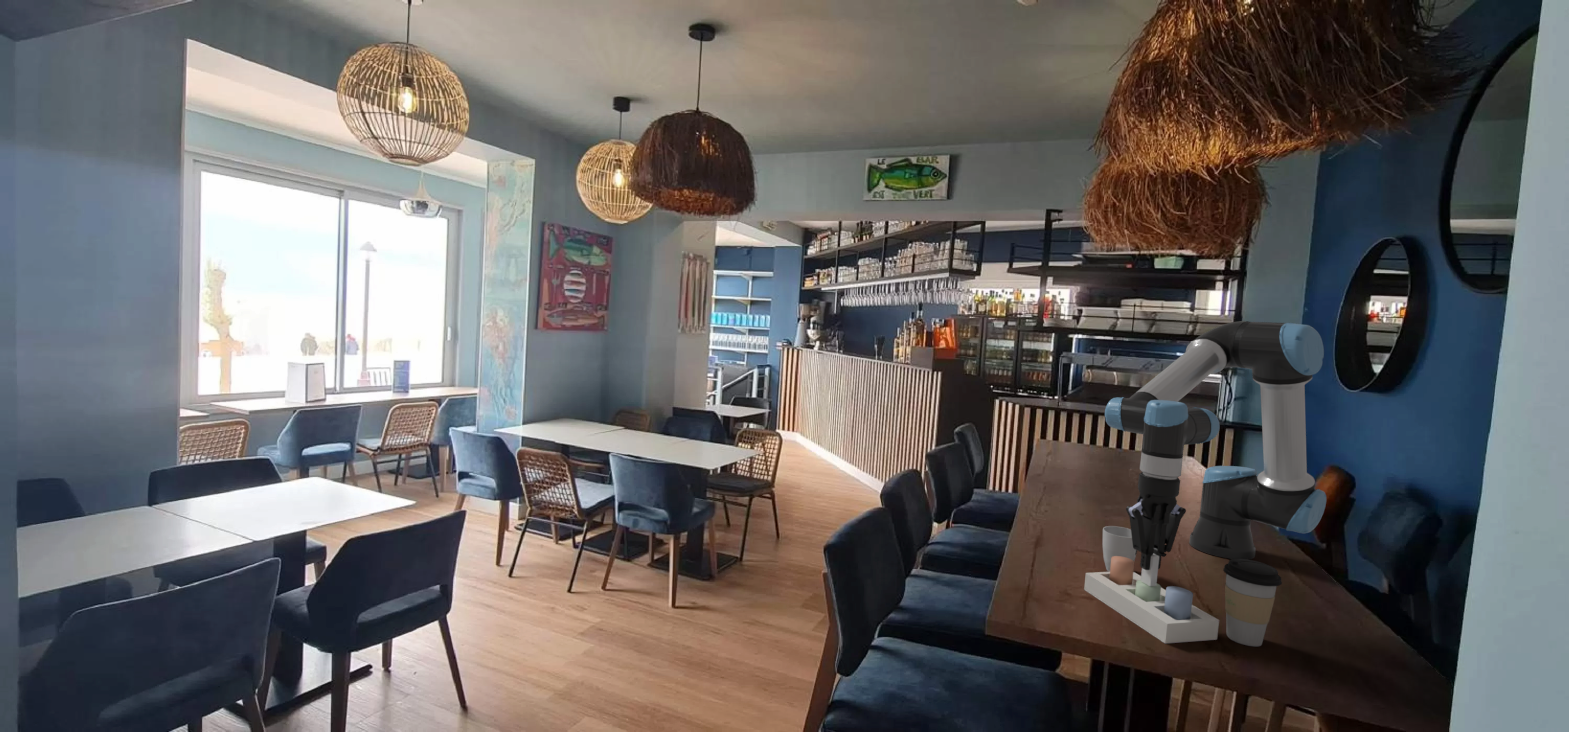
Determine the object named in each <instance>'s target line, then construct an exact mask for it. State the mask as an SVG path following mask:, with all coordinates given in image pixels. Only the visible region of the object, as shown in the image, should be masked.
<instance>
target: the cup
mask: <svg viewBox="0 0 1569 732" xmlns="http://www.w3.org/2000/svg"><path fill="white" fill-rule="evenodd" d="M1102 554H1103V555H1102V556H1103V562H1104V565H1105V569H1106V572H1110V567H1111V557H1113V556H1121V557H1126V558H1129V559H1131V560H1133V561H1134V562H1135V560H1136V556H1137V554H1138V551H1137V550H1135V549H1134V548H1133V543H1132V534H1131V528H1128V527H1124V526H1116V525H1108V526H1107V525H1106V526H1104V527H1103V528H1102Z"/></svg>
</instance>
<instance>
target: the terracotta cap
mask: <svg viewBox="0 0 1569 732" xmlns="http://www.w3.org/2000/svg"><path fill="white" fill-rule="evenodd" d="M1134 567H1135V560H1134V561H1133V560H1131V559H1129V558H1126V557H1121V556H1113V557H1111V567H1110V577H1109V580H1111V581H1112V582H1114V583H1116V584H1118V585H1132V581H1133V572H1135V571H1134V569H1135V568H1134Z"/></svg>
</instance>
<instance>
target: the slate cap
mask: <svg viewBox="0 0 1569 732" xmlns="http://www.w3.org/2000/svg"><path fill="white" fill-rule="evenodd" d="M1165 588H1166V589H1165V590H1166V596H1165V605H1164V613H1165V614H1167V615H1168V616H1170V617H1172V618H1173V619H1176V620H1189V619H1190V617H1191V608H1192V605H1193V597H1194V594H1193V592H1192V591H1190V590H1189V589H1186V588H1183V587H1180V586H1175V585H1174V586H1173V585H1170V586H1167V587H1165Z"/></svg>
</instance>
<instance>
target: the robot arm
mask: <svg viewBox="0 0 1569 732" xmlns="http://www.w3.org/2000/svg"><path fill="white" fill-rule="evenodd" d="M1324 348H1325V347H1324V344H1323V340H1322V337H1321V335H1320V333H1319V331H1317V330H1316V329H1315V328H1314V327H1312V326H1311V325H1309V324H1300V323H1294V322H1273V321H1272V322H1268V321H1267V322H1265V321H1264V322H1263V321H1245V320H1244V321H1243V320H1241V321H1240V320H1239V321H1234V322H1228V323H1225V324H1222V325H1219V326H1216V327H1214V328H1212V329H1209V330H1207V331H1206V332H1203V333H1202V334H1201V335H1199V336H1198V337H1196V338H1195V339H1193V340H1192V341H1191V342H1189V344H1187V345H1186V349H1185V352H1184V353H1183V354H1182V355H1180V356H1179V357H1178V358H1176V359H1175V360H1174V361H1173V362H1172V363H1170V364H1169V365H1168V366H1167V367H1166V368H1164V369H1163V370H1161V371H1160V372H1159V373H1158V374H1157V375H1156V376H1154V377H1153V378H1152V379H1150V380H1149V381H1148V382H1147V383H1146V384H1144V385H1143V386H1142V387H1140V389H1138V390H1137V391H1136V392H1134V394H1132V395H1131V396H1130V397H1127V398H1126V397H1123V396H1122V397H1113V398H1111V399H1110V400H1109V401H1108V403H1107V404H1106V406H1105V409H1104V417H1105V422H1106V424H1107V425H1108V426H1109V427H1110V428H1112V429H1116V430H1120V431H1122V432H1124V433H1125V432H1128V433H1134V434H1138V435H1142V446H1141V454H1140V455H1141V456H1140V463H1139V470H1140V473H1139V474H1138V481H1137V489H1138V492H1139V496H1138V498H1137V499H1136V503H1135V504H1134V505H1133V506H1130V505H1128V506H1126V508H1125V510H1126V512H1127V514H1128V516H1129V523H1130V524H1129V525H1130V526H1129V527H1130V529H1131V534H1132V543H1133V548H1134V549H1135V550H1137V552H1140V563H1139V566H1140V568H1141V574H1140V576H1141V582H1143V583H1145V584H1147V585H1148V586H1150V587H1151V586H1156V584H1158V583H1157V582H1158V572H1159V570H1160V569H1161V565H1162V564H1161V563H1162V558H1166V557H1167V553H1171V551H1172V549H1173V546H1174V542H1175V538H1176V537H1177V533H1178V530H1179V526H1180V524H1181V521H1182V518H1183V517H1184V515H1185V514H1186V512H1187V510H1186V508H1185V507H1183V506H1180V505H1179V504H1178V500H1177V499H1176V498H1177V497H1178V496H1179V494H1180V487H1181V479H1180V478H1179V477H1181V476H1182V469H1183V457H1184V448H1185V446H1187V445H1195V444H1197V445H1200V444H1204V443H1207V442H1210V441H1212V440H1214V439H1215V438H1216V437H1217V435H1218V434H1219V433H1220V432H1219V431H1220V429H1221V428H1220V421H1219V419H1218V417H1217V415H1216V414H1215V413H1214V412H1212V411H1211V410H1209V409H1206V408H1201V407H1192V408H1190V407H1188V405H1187V404H1186V403H1184V402H1181V400H1182V399H1183V398H1184V397H1185V396H1186V395H1187V394H1189V393H1190V392H1191V391H1192V390H1193V389H1194V388H1195V387H1197V386H1198V385H1200V384H1201V383H1202V382H1203V381H1204V380H1205V379H1206V378H1208V377H1209V376H1210V375H1211V374H1212V375H1213V374H1217V373H1220V372H1221V371H1223V369H1227V368H1240V369H1248V370H1251V375H1252V380H1253V381H1254V382H1255V383H1256V384H1258V385H1259V386H1260V406H1261V407H1260V409H1261V425H1262V427H1261V429H1262V430H1261V431H1262V433H1261V434H1262V450H1263V451H1262V452H1263V453H1262V454H1263V471H1261V472H1260V473H1258V472H1257V470H1256V469H1255V468H1251V467H1246V466H1236V465H1235V466H1234V465H1215V466H1210V467H1207V468H1206V469H1205V471H1204V474H1203V480H1202V482H1201V483H1202V487H1201V488H1202V491H1201V497H1200V498H1201V499H1200V510H1199V517H1198V519H1197V521H1196V523H1195V525H1194V528H1193V530H1192V532H1191V533H1190V535H1189V539H1188V541H1189V542H1188V543H1189V545H1190V546H1191V547H1192V548H1194V549H1195V550H1197V551H1200V552H1202V553H1205V554H1208V555H1211V556H1215V557H1218V558H1224V559H1225V558H1226V559H1229V560H1231V559H1248V560H1252V559H1254V558H1255V557H1256V545H1255V544H1254V541H1253V540H1254V539H1253V534H1252V530H1251V523H1252V521H1254V522H1258V523H1262V524H1265V525H1269V526H1272V527H1276V528H1279V529H1283V530H1286V531H1287V532H1295V533H1299V534H1308V533H1311V532H1312V531H1314V529H1315V528H1316V527H1317V526H1318V525H1319V523H1320V521H1321V519H1322V517H1323V515H1324V513H1325V509H1326V504H1327V494H1326V492H1325V491H1324V490H1321V489H1320V488H1316V481H1315V478H1314V476H1313V475H1311V474H1310V473H1308V472H1307V470H1308V468H1307V467H1308V465H1307V463H1308V462H1307V436H1306V435H1307V433H1306V432H1307V429H1306V428H1307V427H1306V423H1307V422H1306V394H1305V391H1306V390H1305V385H1306V384H1308V383H1309V382H1310V381H1312V380H1313V375H1316V374H1317V373H1319V371H1320V370H1321V369H1322V366H1323V359H1324V357H1325V356H1324V354H1325V350H1324Z"/></svg>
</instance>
